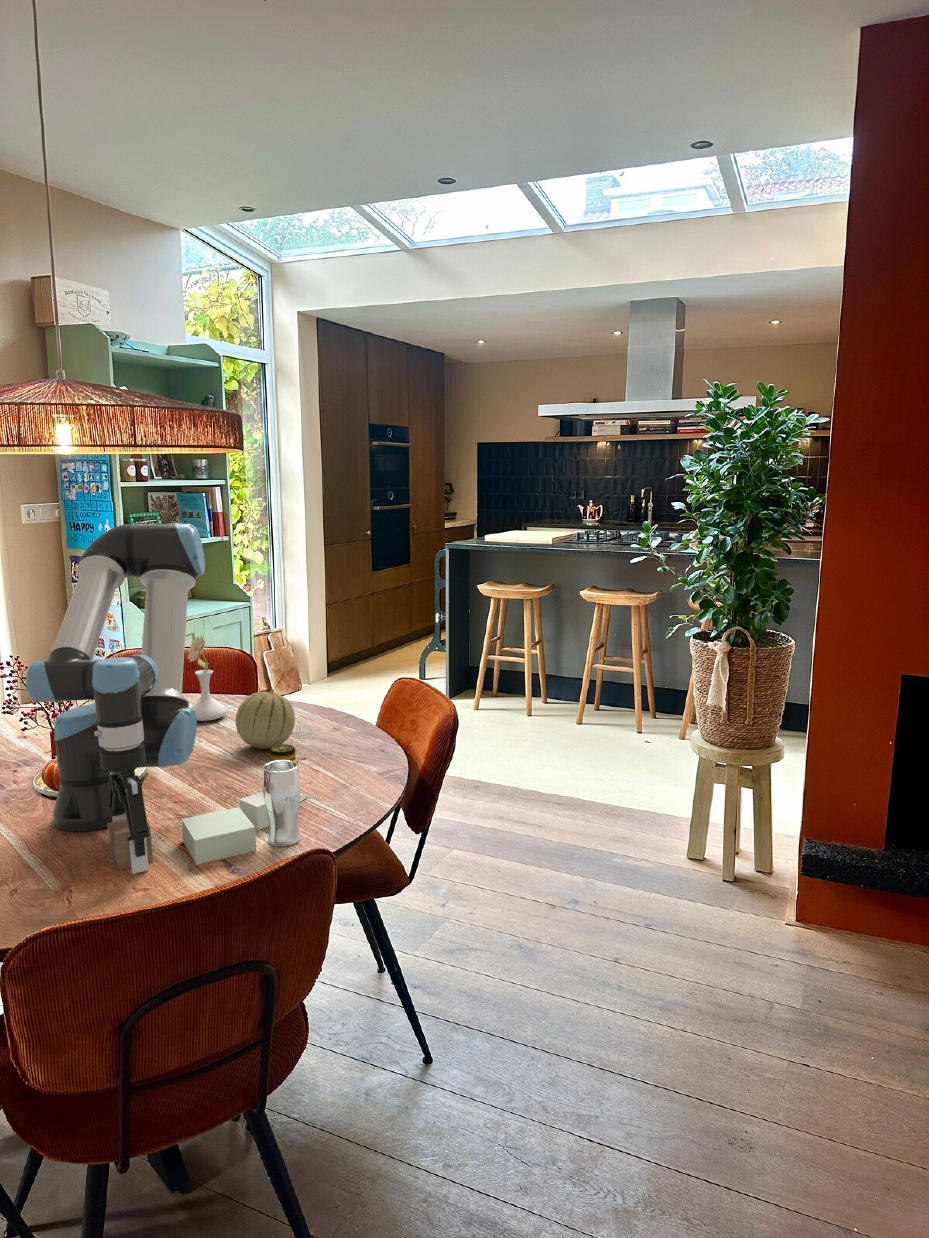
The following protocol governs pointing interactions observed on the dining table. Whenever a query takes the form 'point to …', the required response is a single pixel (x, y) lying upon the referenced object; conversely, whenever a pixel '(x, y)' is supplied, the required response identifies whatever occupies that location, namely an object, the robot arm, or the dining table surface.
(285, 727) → the cantaloupe
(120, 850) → the walnut block
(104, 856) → the dining table surface
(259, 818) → the grey block
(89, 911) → the dining table surface
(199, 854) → the pedestal block
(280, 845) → the beer glass
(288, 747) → the condiment
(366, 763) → the dining table surface
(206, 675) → the flower in vase
